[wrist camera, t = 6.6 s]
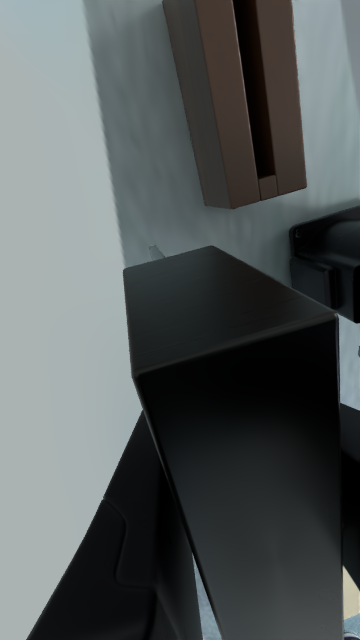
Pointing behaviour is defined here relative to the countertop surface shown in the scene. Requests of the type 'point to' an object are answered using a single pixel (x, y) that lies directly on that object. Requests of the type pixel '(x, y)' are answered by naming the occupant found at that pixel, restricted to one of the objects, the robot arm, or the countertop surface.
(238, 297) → the black handle
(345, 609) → the cake loaf
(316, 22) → the countertop surface
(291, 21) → the knife block
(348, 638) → the teapot
